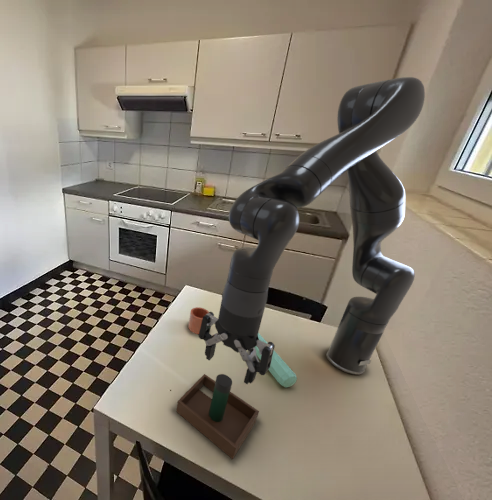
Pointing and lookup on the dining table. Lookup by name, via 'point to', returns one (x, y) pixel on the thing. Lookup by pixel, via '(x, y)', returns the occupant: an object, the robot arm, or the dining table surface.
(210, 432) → the tray
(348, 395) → the dining table surface
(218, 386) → the marker
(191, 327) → the pen pot
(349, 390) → the dining table surface
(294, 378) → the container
